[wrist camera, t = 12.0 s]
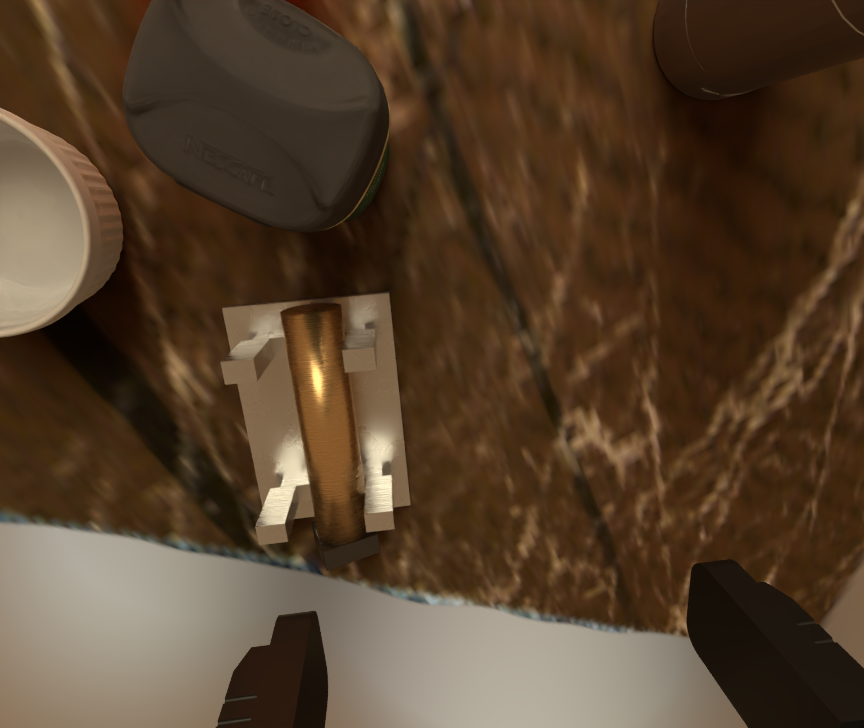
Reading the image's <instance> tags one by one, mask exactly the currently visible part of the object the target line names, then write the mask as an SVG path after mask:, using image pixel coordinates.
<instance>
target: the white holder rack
mask: <svg viewBox="0 0 864 728" xmlns="http://www.w3.org/2000/svg"><path fill="white" fill-rule="evenodd" d="M313 303H337V304H340V305H341V308H342V316H343V324H344V331H345V341H344V345H343V348H342V354H343V361H344V369H345V373H348V372H350V377H351V384H352V392H353V400H354V407H355V415H356V422H357V430H358V438H359V445H360V453H361V460H362V468H363V476H364V483H365V507H364V518H365V525H366V532H374V531H382V530H391V529H395V525H394V507H401V506H410V495H409V485H408V475H407V465H406V455H405V445H404V436H403V426H402V416H401V406H400V396H399V386H398V376H397V366H396V357H395V347H394V337H393V327H392V317H391V307H390V297H389V291H385V292H374V293H363V294H352V295H341V296H330V297H319V298H308V299H297V300H285V301H274V302H263V303H252V304H241V305H230V306H224V307H223V308H222V310H223V315H224V320H225V325H226V330H227V335H228V340H229V345H230V349H231V352H230V353H229V354H228V355H227V356H226V357H225V358H224V359H223V360H222V361H221V367H222V372H223V376H224V381H225V385H227V384H238V389H239V394H240V399H241V403H242V408H243V413H244V418H245V423H246V428H247V433H248V438H249V443H250V448H251V453H252V457H253V462H254V467H255V472H256V477H257V482H258V487H259V492H260V497H261V502H262V507H263V508H262V511H261V514H260V516H259V519H258V521H257V524H256V526H255V528H256V532H257V537H258V542H259V545H264V544H273V543H281V542H288V540H289V537H290V533H291V529H292V526H293V522H294V519H298V518H306V517H315V516H314V510H313V504H312V498H311V492H310V486H309V480H308V474H307V469H306V463H305V457H304V451H303V445H302V439H301V433H300V427H299V421H298V415H297V409H296V403H295V398H294V392H293V386H292V380H291V374H290V368H289V362H288V356H287V350H286V344H285V338H284V333H283V327H282V321H281V315H280V312H281V311H283V310H285V309H287V308H290V307H294V306H299V305H305V304H313Z"/></svg>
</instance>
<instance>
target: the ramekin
mask: <svg viewBox="0 0 864 728" xmlns="http://www.w3.org/2000/svg"><path fill="white" fill-rule="evenodd" d="M122 241H123V224H122V221H121V213H120V211H119V208H118V203H117V201H116V200H115V198H114V196H113V192H112V190H111V189H110V188H109V187H108V185H107V182H106V179H105V178H104V177H103V176H102V175H101V174H100V173H99V171H98V169H97V168H96V167H95V166H94V165H92V164H91V162H90V161H89V159H88V158H87V157H86V156H85V155H83V154H81V153H80V152H79V151H78V150H77V149H76V148H75V147H74V146H72V145H70V144H68V143H66V142H65V141H64V140H63V139H61V138H59V137H57V136H55V135H53V134H51V133H49V132H48V131H46V130H44V129H41V128H39V127H37V126H35V125H32V124H30V123H28V122H26V121H25V120H23V119H21V118H20V117H18V116H16V115H14V114H12V113H10V112H8V111H6V110H4V109H1V108H0V338H1V337H9V336H15V335H20V334H24V333H27V332H31V331H34V330H38V329H40V328H43V327H45V326H48V325H50V324H52V323H54V322H55V321H57V320H59V319H61V318H62V317H63V316H65V315H66V314H68V313H69V312H70V311H71V310H72V309H73V308H74V307H75V306H76V305H78V304H79V303H81V302H83V301H84V300H86V299H87V298H89V297H91V296H92V295H93V294H95V293H96V292H97V291H98V290H99V289H101V288H102V287H103V286H104V284H105V282H106V281H107V280H109V278H110V276H111V273H112V272H114V271H115V269H116V264H117V262H118V261H119V259H120V252H121V250H122Z"/></svg>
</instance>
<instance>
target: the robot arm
mask: <svg viewBox="0 0 864 728" xmlns="http://www.w3.org/2000/svg"><path fill="white" fill-rule="evenodd" d="M654 44H655V53H656V56H657V59H658V62H659V65H660V67H661V69H662V71H663V72H664V74H665V76H666V78H667V79H668V80H669V81H670V82H671V83H672V85H673V86H674V87H675V88H676V89H678V90H679V91H681V92H682V93H684V94H686V95H687V96H690V97H693V98H696V99H699V100H718V99H723V98H728V97H731V96H736V95H739V94H740V95H741V94H744V93H747V92H750V91H753V90H755V89H759V88H762V87H766V86H769V85H773V84H776V83H779V82H783V81H786V80H790V79H793V78H796V77H800V76H803V75H807V74H810V73H813V72H817V71H820V70H824V69H827V68H830V67H834V66H837V65H841V64H844V63H847V62H851V61H854V60H857V59H861V58H864V0H660V1H659V3H658V7H657V12H656V16H655V20H654ZM687 630H688V634H689V637H690V640H691V642H692V645H693V647H694V649H695V651H696V652H697V654H698V655H699V657H700V658H701V660H702V661H703V663H704V664H705V665H706V667H707V669H708V670H709V671H710V673H711V674H712V676H713V677H714V679H715V680H716V682H717V683H718V685H719V686H720V687H721V689H722V690H723V692H724V693H725V695H726V696H727V697H728V699H729V700H730V702H731V703H732V705H733V706H734V708H735V709H736V711H737V712H738V713H739V715H740V716H741V718H742V719H743V721H744V722H745V723H746V725H747V727H748V728H864V668H863V667H862V666H861V665H860V664H859V663H857V661H856V660H854V659H853V658H852V657H851V656H850V655H849V654H848V653H847V652H846V651H845V650H844V649H843V648H842V647H841V646H840V645H839V644H838V643H837V642H836V643H834V641H833V640H832V637H831V636H830V635H829V634H828V633H827V632H826V631H825V630H824V629H823V628H822V627H821V626H820V625H819V624H815V622H814V619H813V618H812V617H811V616H810V615H809V614H808V613H806V612H805V611H804V610H803V609H802V608H801V607H800V606H799V605H798V604H797V603H796V602H795V601H794V600H793V599H792V598H790V597H789V596H787V595H785V594H784V593H782V592H780V591H779V590H777V589H775V588H774V587H772V586H771V585H769V584H767V583H766V582H759V583H757V582H756V581H755V580H754V579H753V578H752V577H751V576H750V575H749V574H748V573H747V572H746V571H745V570H744V569H743V568H742V567H741V566H740V565H739V564H738V563H737V562H735V561H733V560H730V559H728V560H720V561H712V562H704V563H697V564H695V565H693V567H692V570H691V578H690V588H689V599H688V609H687ZM327 701H328V674H327V666H326V660H325V654H324V649H323V643H322V637H321V632H320V626H319V621H318V616H317V613H316V611H310V612H302V613H295V614H286V615H279V616H278V618H277V620H276V623H275V627H274V631H273V635H272V639H271V643H270V645H266V646H258V647H251V649H250V650H249V651H248V653H247V654H246V655H245V657H244V658H243V659H242V661H241V662H240V663H239V665H238V666H237V667H236V669H235V670H234V672H233V675H232V678H231V681H230V684H229V687H228V690H227V693H226V697H225V704H223V706H222V709H221V712H220V716H219V719H218V726H217V727H216V728H325V720H326V711H327Z"/></svg>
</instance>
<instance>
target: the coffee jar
mask: <svg viewBox="0 0 864 728" xmlns="http://www.w3.org/2000/svg"><path fill="white" fill-rule="evenodd" d="M122 102H123V107H124V113H125V117H126V121H127V124H128V127H129V129H130V131H131V134H132V136H133V138H134V139H135V141H136V143H137V144H138V146H139V147H140V149H141V150H142V151H143V153H144V154H145V155H146V156H147V158H148V159H149V160H150V161H151V162H153V163H154V164H155V165H156V166H157V167H158V168H159V169H160V170H162V171H163V172H164V173H166V174H167V175H169V176H171V177H172V178H174V180H175V181H176V182H177V183H178V184H179V185H180V186H181V187H183V188H185V189H187V190H189V191H191V192H193V193H196V194H198V195H200V196H202V197H204V198H206V199H208V200H210V201H212V202H214V203H216V204H218V205H220V206H223V207H225V208H227V209H229V210H231V211H233V212H235V213H237V214H239V215H241V216H243V217H245V218H247V219H249V220H251V221H253V222H255V223H257V224H259V225H261V226H263V227H276V228H279V229H283V230H288V231H298V232H317V231H322V230H326V229H330V228H332V227H334V226H336V225H338V224H340V223H341V222H346V221H350V220H352V219H354V218H356V217H358V216H359V215H361V214H362V213H363V212H364V211H365V210H366V209H367V207H368V206H369V204H370V203H371V201H372V200H373V198H374V196H375V194H376V192H377V190H378V188H379V186H380V184H381V181H382V179H383V176H384V174H385V171H386V167H387V163H388V158H389V145H388V137H389V133H390V124H391V115H390V107H389V102H388V99H387V95H386V93H385V90H384V88H383V86H382V84H381V82H380V80H379V79H378V77H377V75H376V73H375V71H374V69H373V67H372V66H371V64H370V63H369V61H368V60H367V59H366V57H365V56H364V55H363V54H362V52H361V51H360V50H359V49H358V48H357V47H356V46H354V45H353V44H352V43H351V42H349V41H348V40H347V39H346V38H344V37H343V36H341V35H340V34H338V33H337V32H335V31H334V30H332V29H331V28H329V27H328V26H326V25H325V24H323V23H322V22H320V21H319V20H317V19H316V18H314V17H313V16H311V15H309V14H308V13H306V12H305V11H303V10H301V9H300V8H298V7H296V6H294V5H293V4H291V3H289V2H287V1H285V0H151V2H150V4H149V7H148V9H147V11H146V13H145V15H144V17H143V20H142V22H141V25H140V27H139V30H138V33H137V36H136V39H135V41H134V44H133V48H132V51H131V54H130V58H129V62H128V66H127V70H126V74H125V79H124V84H123V90H122Z"/></svg>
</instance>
